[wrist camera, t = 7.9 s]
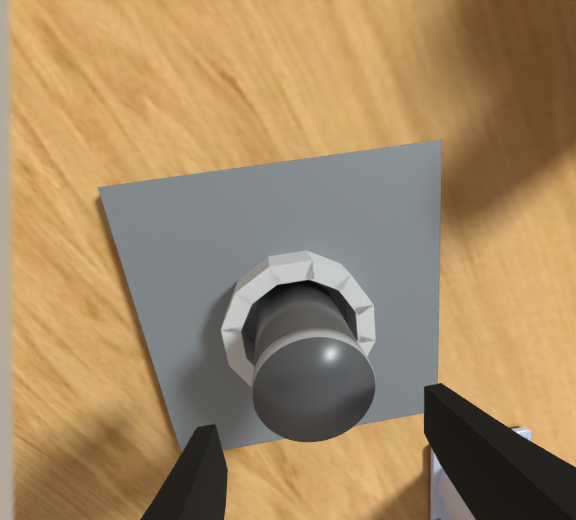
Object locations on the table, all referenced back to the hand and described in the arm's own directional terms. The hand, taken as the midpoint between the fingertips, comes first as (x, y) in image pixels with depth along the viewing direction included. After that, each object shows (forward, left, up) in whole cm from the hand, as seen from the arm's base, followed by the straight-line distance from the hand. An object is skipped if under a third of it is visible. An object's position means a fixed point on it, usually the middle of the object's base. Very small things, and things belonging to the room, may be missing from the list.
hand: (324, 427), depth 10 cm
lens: (0, 0, -8) cm, 8 cm away
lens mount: (0, 0, -9) cm, 9 cm away
